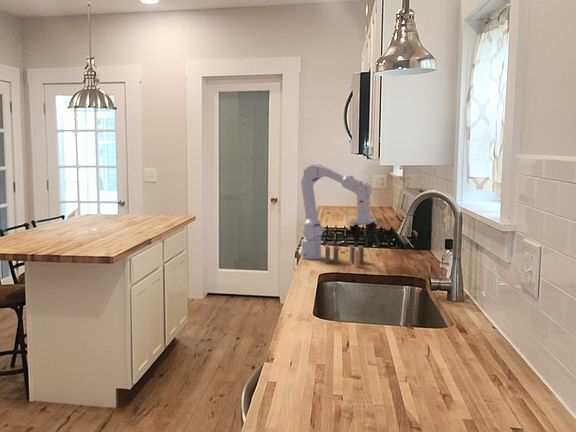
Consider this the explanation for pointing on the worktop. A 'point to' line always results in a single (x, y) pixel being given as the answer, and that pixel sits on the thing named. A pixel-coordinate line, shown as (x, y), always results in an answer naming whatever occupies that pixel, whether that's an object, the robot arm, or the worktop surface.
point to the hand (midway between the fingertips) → (363, 240)
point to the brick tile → (356, 258)
